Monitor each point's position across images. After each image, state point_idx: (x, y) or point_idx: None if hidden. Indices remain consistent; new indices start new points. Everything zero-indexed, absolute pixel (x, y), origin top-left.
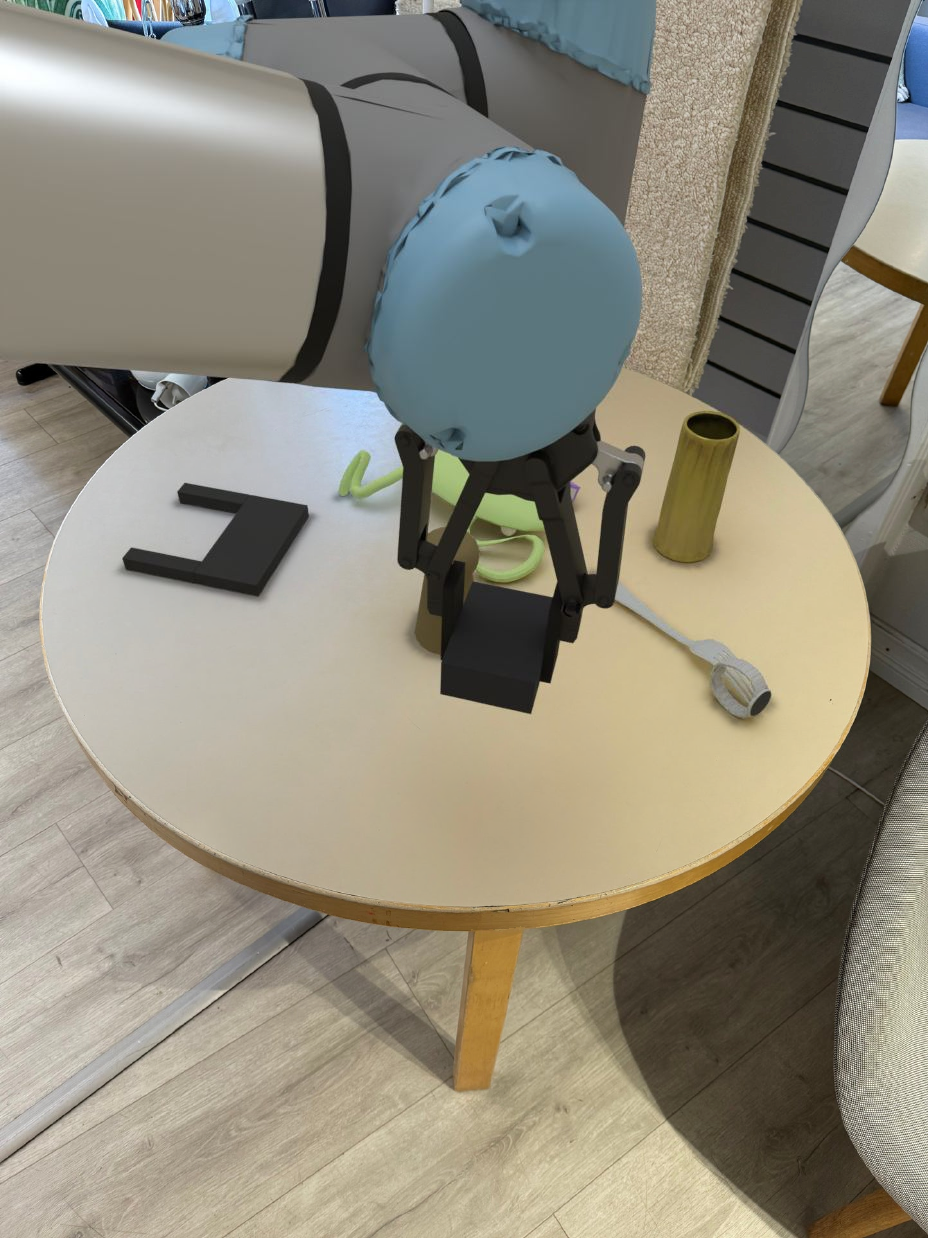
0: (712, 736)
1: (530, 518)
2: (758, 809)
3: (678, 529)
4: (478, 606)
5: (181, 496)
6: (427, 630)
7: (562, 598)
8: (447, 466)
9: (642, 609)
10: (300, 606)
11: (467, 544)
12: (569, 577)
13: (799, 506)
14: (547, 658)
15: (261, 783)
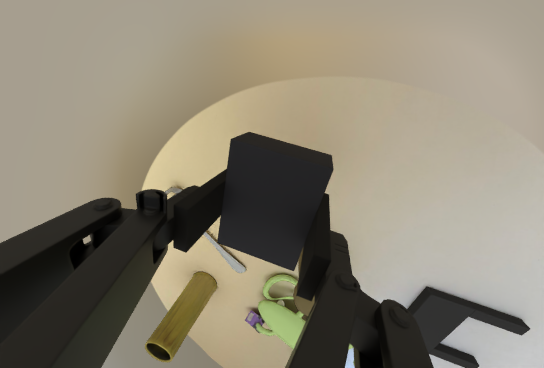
0: (192, 180)
1: (268, 308)
2: (173, 139)
3: (199, 289)
4: (288, 241)
5: (474, 361)
6: None
7: (160, 218)
8: None
9: (220, 250)
10: (399, 276)
11: (300, 302)
12: (117, 242)
13: (160, 291)
14: (224, 176)
15: (439, 157)
